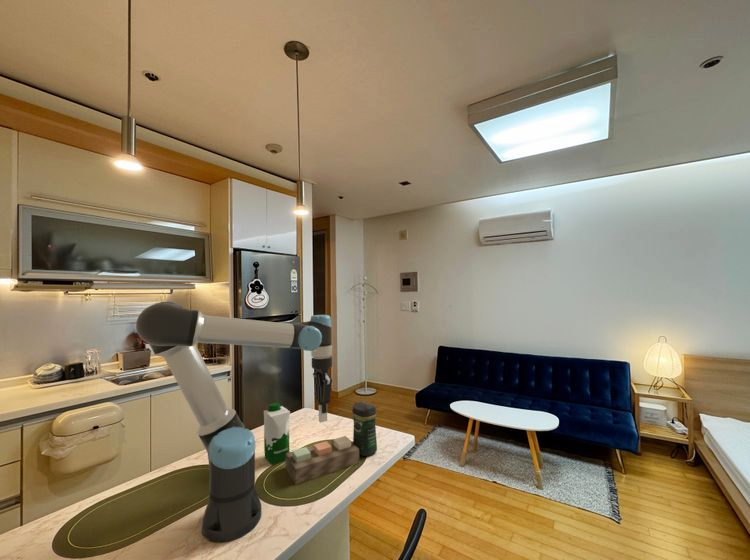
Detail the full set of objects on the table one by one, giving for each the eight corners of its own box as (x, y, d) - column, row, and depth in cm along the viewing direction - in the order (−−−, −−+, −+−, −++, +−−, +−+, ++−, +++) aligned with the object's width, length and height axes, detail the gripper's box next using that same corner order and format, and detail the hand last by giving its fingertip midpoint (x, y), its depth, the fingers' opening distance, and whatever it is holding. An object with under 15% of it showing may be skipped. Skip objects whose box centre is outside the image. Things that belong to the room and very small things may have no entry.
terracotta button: (318, 460, 112) (318, 450, 112) (313, 454, 116) (313, 444, 117) (331, 456, 115) (331, 446, 115) (326, 450, 119) (326, 441, 119)
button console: (295, 484, 104) (295, 468, 104) (285, 467, 114) (285, 453, 114) (359, 462, 117) (359, 449, 117) (345, 449, 127) (345, 436, 127)
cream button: (339, 454, 116) (339, 444, 116) (333, 448, 121) (333, 439, 121) (351, 450, 119) (351, 440, 119) (345, 444, 123) (345, 435, 123)
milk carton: (283, 450, 127) (282, 400, 128) (293, 459, 120) (292, 406, 121) (261, 457, 121) (261, 405, 122) (270, 467, 114) (270, 411, 115)
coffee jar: (380, 451, 124) (379, 404, 125) (365, 459, 119) (364, 409, 120) (364, 443, 131) (364, 398, 132) (349, 450, 126) (349, 403, 127)
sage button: (296, 467, 108) (296, 456, 108) (292, 460, 112) (292, 450, 112) (310, 462, 111) (310, 452, 111) (306, 456, 115) (305, 446, 115)
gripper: (338, 358, 113) (339, 424, 113) (324, 352, 124) (325, 413, 124) (318, 361, 109) (320, 430, 109) (306, 355, 121) (307, 417, 120)
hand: (323, 420), depth 116 cm, fingers closed
